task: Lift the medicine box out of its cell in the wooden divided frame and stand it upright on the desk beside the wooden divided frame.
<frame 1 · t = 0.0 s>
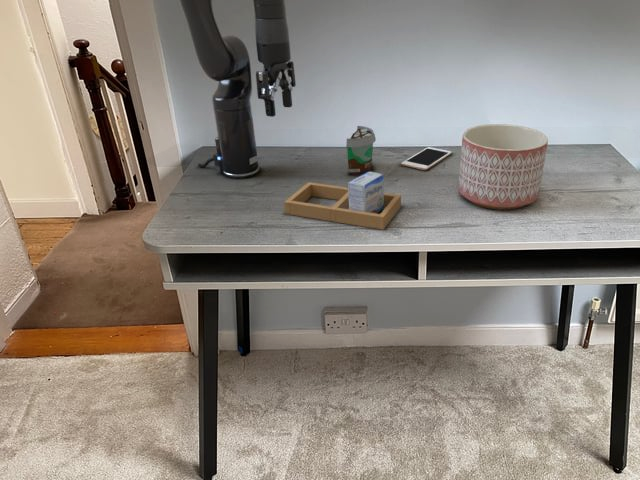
hand: (279, 111, 134), 17 cm above the table, tool pointing down, fingers open, 8 cm apart
wooden divided frame: (344, 210, 127), on the table
medicine box: (366, 214, 126), resting in wooden divided frame
planter: (497, 197, 134), on the table
cell phone: (427, 159, 156), on the table
food container: (364, 170, 149), on the table
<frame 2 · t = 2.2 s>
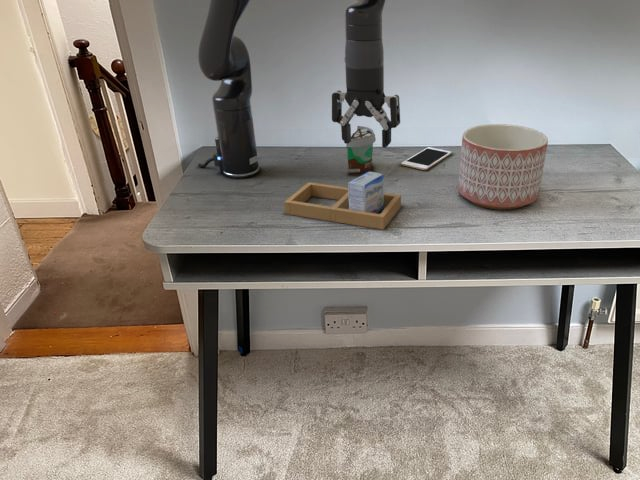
hand: (366, 144, 117), 16 cm above the table, tool pointing down, fingers open, 8 cm apart
nothing on the table moved.
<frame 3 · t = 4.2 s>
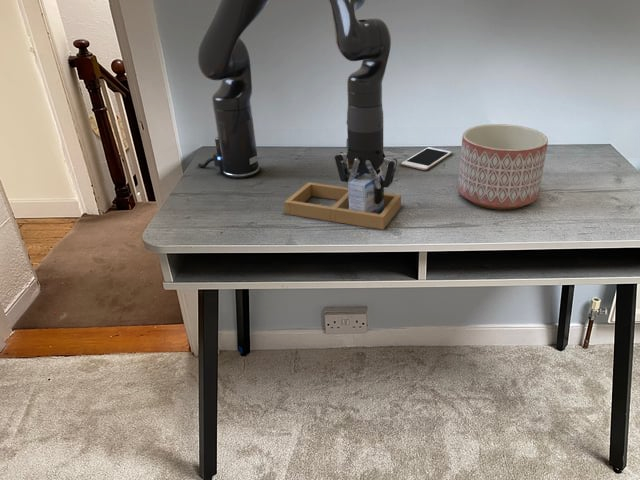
hand: (366, 200, 124), 3 cm above the table, tool pointing down, fingers closed on medicine box, 5 cm apart
medicine box: (366, 214, 126), resting in wooden divided frame, touching gripper
everything else where it was.
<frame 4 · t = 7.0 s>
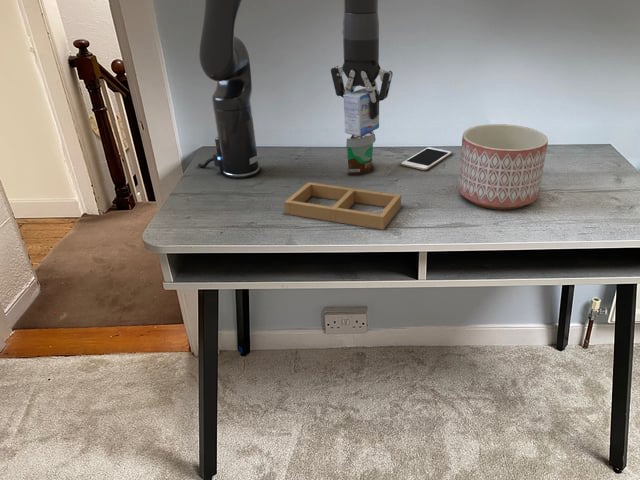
hand: (361, 116, 125), 19 cm above the table, tool pointing down, fingers closed on medicine box, 5 cm apart
medicine box: (362, 131, 127), point 15 cm above the table, touching gripper
everything else where it was.
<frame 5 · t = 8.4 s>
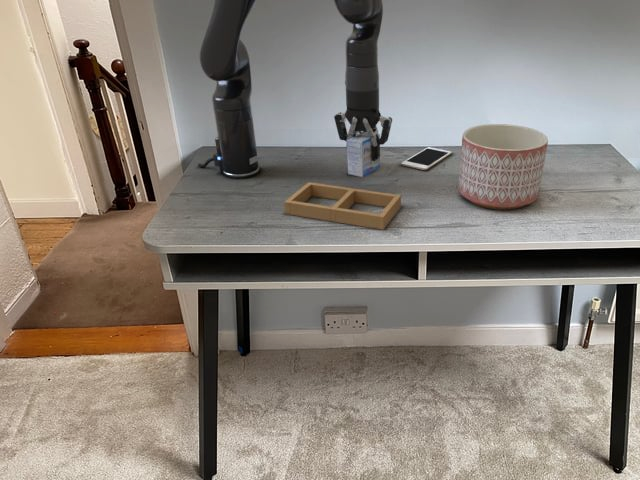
hand: (363, 158, 133), 8 cm above the table, tool pointing down, fingers closed on medicine box, 5 cm apart
medicine box: (364, 172, 135), point 5 cm above the table, touching gripper
everything else where it was.
when the fingers open (3 cm above the table, at t = 9.9 s): medicine box stays where it is, on the table.
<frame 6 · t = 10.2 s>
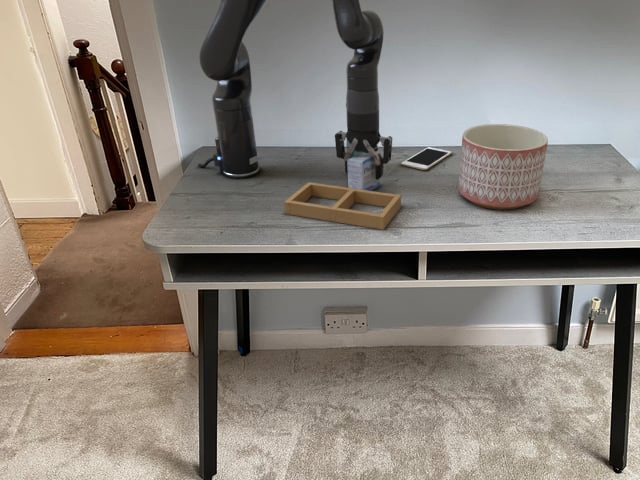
hand: (364, 176, 136), 3 cm above the table, tool pointing down, fingers open, 7 cm apart
medicine box: (364, 190, 138), on the table
everything else where it was.
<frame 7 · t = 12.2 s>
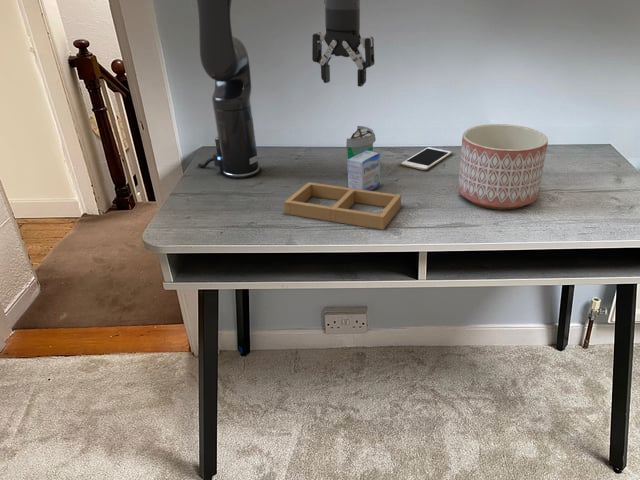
hand: (343, 84, 128), 24 cm above the table, tool pointing down, fingers open, 8 cm apart
nothing on the table moved.
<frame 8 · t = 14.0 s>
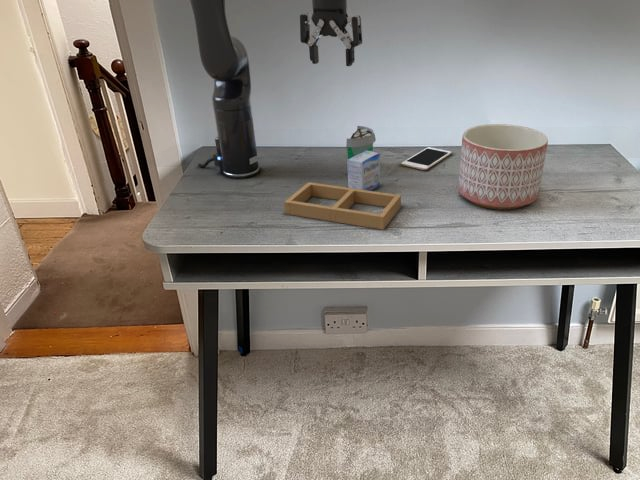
hand: (332, 64, 128), 28 cm above the table, tool pointing down, fingers open, 8 cm apart
nothing on the table moved.
at the end: medicine box inside the target area (0.1 cm from its centre), on the table; medicine box tilted 0°; the gripper is holding nothing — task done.
